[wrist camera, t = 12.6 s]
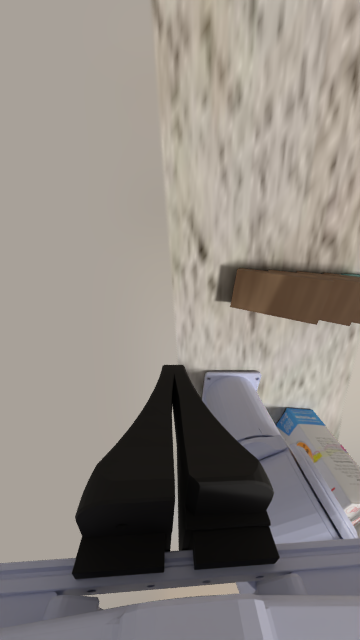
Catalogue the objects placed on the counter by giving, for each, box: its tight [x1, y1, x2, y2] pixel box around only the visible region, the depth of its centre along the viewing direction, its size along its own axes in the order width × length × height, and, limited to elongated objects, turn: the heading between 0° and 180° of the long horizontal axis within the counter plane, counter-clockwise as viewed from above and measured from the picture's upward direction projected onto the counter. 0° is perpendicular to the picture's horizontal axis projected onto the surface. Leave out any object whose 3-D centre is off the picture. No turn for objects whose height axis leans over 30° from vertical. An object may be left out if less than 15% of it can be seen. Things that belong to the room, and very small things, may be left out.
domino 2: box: [269, 270, 360, 326], centre depth 18 cm, size 2×4×8 cm
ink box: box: [276, 408, 360, 538], centre depth 24 cm, size 8×5×15 cm, turn 170°
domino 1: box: [230, 268, 335, 325], centre depth 18 cm, size 2×4×8 cm
